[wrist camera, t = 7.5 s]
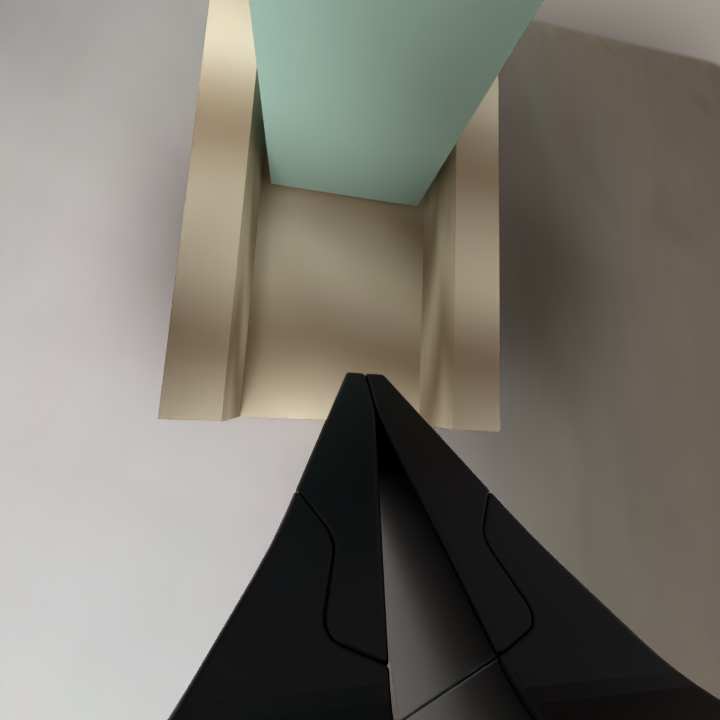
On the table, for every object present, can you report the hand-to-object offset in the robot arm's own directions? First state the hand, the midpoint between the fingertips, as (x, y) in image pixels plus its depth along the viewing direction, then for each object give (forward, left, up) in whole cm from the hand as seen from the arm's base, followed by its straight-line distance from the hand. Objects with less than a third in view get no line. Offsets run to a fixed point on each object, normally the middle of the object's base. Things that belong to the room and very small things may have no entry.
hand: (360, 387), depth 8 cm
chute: (+6, -5, -6) cm, 10 cm away
